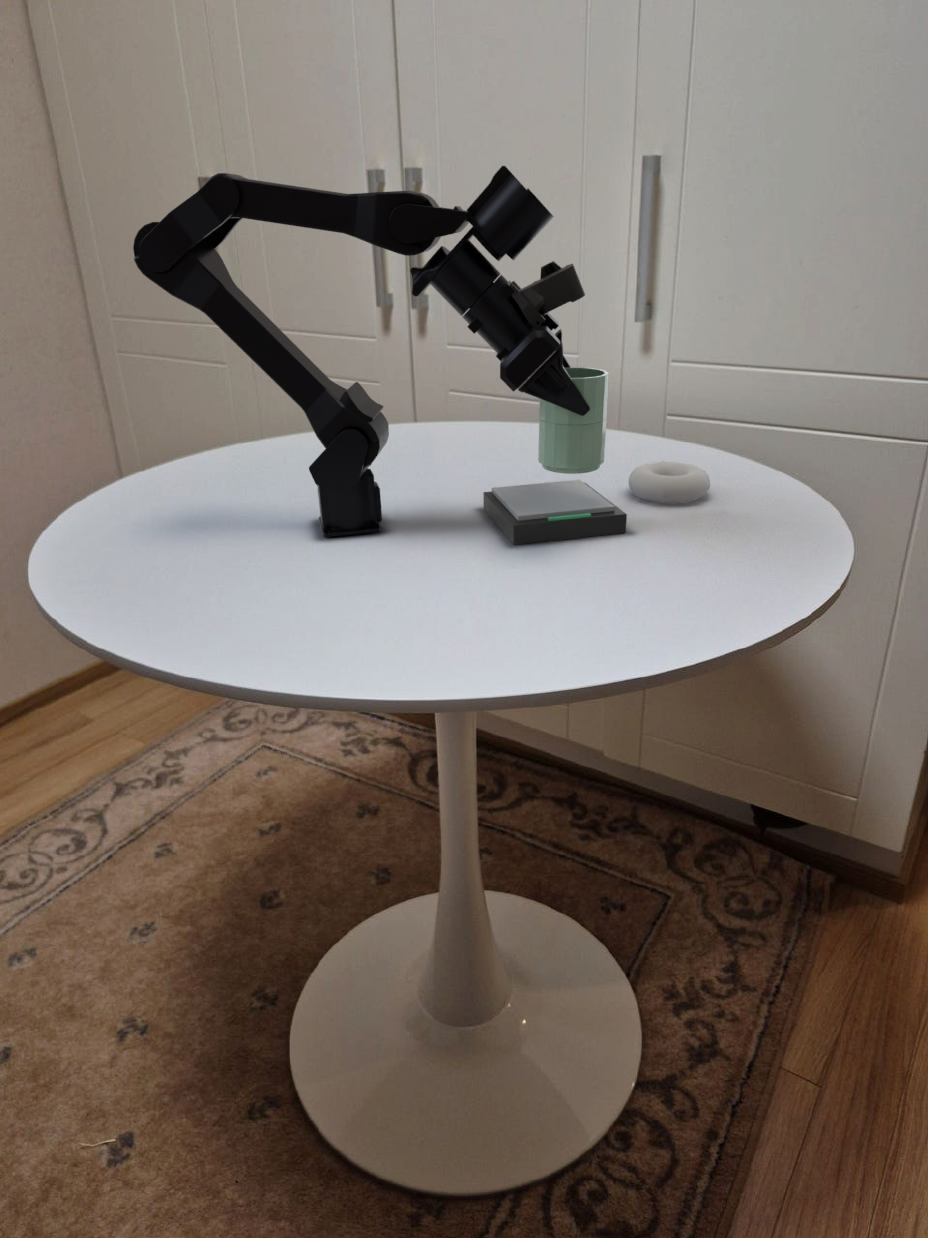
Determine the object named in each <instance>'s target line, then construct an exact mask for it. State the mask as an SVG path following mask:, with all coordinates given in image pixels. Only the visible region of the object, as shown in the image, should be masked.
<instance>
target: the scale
mask: <svg viewBox="0 0 928 1238" xmlns="http://www.w3.org/2000/svg"><path fill="white" fill-rule="evenodd" d="M482 499H483V511H484V512H485V513H486V514H487V515H488V517H489V518H490V519H491V520H492V521H493V522H494V524H495V525H496V526H497V528H499V530H500V531H501V532H502V533H503V534H504V535H505V536H506V537H507V539H508V540H509V541H510V543H511V544H512V545H513V546H517V545H526V544H534V543H535V544H537V543H545V542H555V541H562V540H564V541H565V540H573V539H582V538H589V537H600V536H607V535H608V536H609V535H617V534H626V533H627V518H628V514H627V513H626V512H625V511H623V510H622V509H621V508H620V507H619V506H618V505H615V503H613V502H612V501H610V500H609V499H608V498H606V497H605V496H604V495H603V494H601V493H600V492H599V491H597V490H596V489H595V488H593V487H591V486H590V485H589V484H588V483H587V482H583V480H581V479H571V480H561V481H551V482H550V481H549V482H539V483H531V484H530V483H529V484H518V485H517V484H516V485H508V486H498V487H497V486H496V487H491V490H490V491H483V498H482Z"/></svg>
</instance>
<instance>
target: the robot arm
mask: <svg viewBox="0 0 928 1238" xmlns="http://www.w3.org/2000/svg"><path fill="white" fill-rule="evenodd" d="M554 217H555V216H554V215H553V214H552V213H551V212H550V211H549V209H548V208H547V207H546V206H545V205H544V204H543V203H542V202H541V200H539V198H538V197H537V196H536V195H535V193H533V192H532V191H531V189H530V188H529V187H525V186H524V185H523V184H522V182H521V181H520V180H519V179H518V178H517V177H516V176H515V175H514V174H513V173H512V172H511V170H510V169H509V168H508V167H507V166H506V165H501V167H500V168H498V170H496V172H495V173H494V175H493V177H491V180H490V182H489V183H488V185H487V186H486V187H485V188H484V189H483V190H482V192H481V193H479V195H478V196H477V198H475V199H474V200H473V202H472V203H471V204H470V205H469V207H467V208H466V210H464V209H463V208H462V207H461V206H458V205H455V206H454V207H453V208H448V207H441V206H439V204H438V203H437V201H436V199H434V198H433V197H432V196H431V195H429V194H427V193H424V192H420V191H413V190H395V191H394V190H393V191H374V192H373V191H372V192H361V193H360V192H359V193H344V192H338V191H331V190H324V189H318V188H311V187H303V186H296V185H292V184H291V185H290V184H283V183H276V182H272V181H271V182H270V181H263V180H257V179H250V178H246V177H244V176H242V175H240V174H235V173H227V172H220V173H216V174H214V175H212V176H211V177H210V178H209V179H208V180H207V182H205V184H203V185H202V186H201V188H200V189H198V190H197V192H195V193H193V194H192V195H191V196H190V197H188V198H186V199H185V200H184V201H183V202H181V203H180V204H179V205H177V206H176V207H175V208H173V209H172V210H170V211H169V212H168V213H167V214H166V215H165V216H164V217H163V218H162V219H160V221H152V222H148V223H146V224H144V225H143V226H142V227H141V228H140V229H138V231H137V233H136V235H135V236H134V240H133V247H132V249H133V256H134V258H133V261H134V263H135V265H136V268H138V270H139V272H141V274H142V275H143V276H144V277H145V278H147V279H149V280H150V281H151V282H152V283H154V284H155V285H157V286H158V287H159V288H160V289H162V290H164V291H165V292H167V293H168V294H169V295H171V296H172V297H173V298H176V299H178V300H179V301H182V302H183V303H185V304H187V305H189V306H191V307H193V308H195V309H197V310H199V311H201V312H202V313H203V314H204V315H206V316H207V317H208V319H210V320H211V322H213V323H214V324H215V326H217V327H218V328H219V329H220V330H221V331H222V332H223V333H224V334H225V335H226V336H227V337H228V338H229V339H230V340H231V341H232V342H233V343H234V344H235V345H236V346H237V347H238V348H239V349H240V350H241V351H242V352H243V353H244V354H245V355H247V356H248V358H250V359H251V361H253V362H254V364H256V365H257V366H258V368H260V369H261V370H262V372H264V373H265V374H266V376H268V377H269V378H270V379H271V380H272V381H273V382H274V383H275V384H276V385H277V386H278V387H279V388H280V389H281V390H282V391H283V392H284V393H285V394H286V395H287V396H288V397H289V398H290V399H291V400H292V401H294V403H295V404H296V405H297V406H299V408H301V410H302V411H303V413H304V414H305V417H306V418H307V421H308V422H309V424H310V426H311V428H312V430H313V432H314V435H315V436H316V438H317V440H319V442H320V443H321V444H322V446H323V447H324V450H323V451H322V452H321V453H320V454H319V455H318V456H317V457H316V458H315V460H314V461H313V462H312V463H311V464H310V465H309V467H308V471H309V473H310V475H311V477H312V479H313V482H314V484H315V485H316V486H317V487H316V488H317V497H318V506H319V517H318V522H319V525H320V530H321V533H322V536H323V537H324V538H329V537H330V538H332V537H342V536H350V535H351V536H352V535H361V534H369V533H378V532H380V531H381V525H380V523H381V522H383V513H382V512H383V510H382V499H381V488H380V486H379V484H378V482H377V481H375V475H374V473H373V471H372V470H371V468H370V467H371V466H372V464H373V463H374V462H375V460H376V458H378V456H379V454H380V453H381V451H382V450H383V449H384V447H385V446H386V444H387V443H388V440H389V436H390V428H389V422H388V419H387V417H386V416H385V415H384V413H383V412H382V410H383V409H384V405H383V404H380V403H378V402H376V401H375V400H374V399H372V398H371V397H370V395H369V394H368V392H367V391H366V390H365V388H364V387H363V386H362V384H360V382H358V381H355V382H354V383H353V384H351V385H350V386H349V387H348V388H345V387H344V386H341V385H339V384H338V383H336V382H334V381H333V380H331V379H330V378H329V377H328V376H327V375H326V374H325V373H324V372H323V371H322V370H321V369H320V368H319V367H318V366H317V365H316V364H315V363H314V361H312V360H311V359H310V358H309V357H308V356H307V355H306V354H305V353H304V352H303V351H302V350H301V349H300V348H299V347H298V346H297V345H296V344H295V343H294V342H293V340H291V339H290V338H289V336H287V335H286V334H285V333H284V332H283V331H282V330H281V329H280V328H279V326H277V325H276V324H275V322H273V321H272V319H270V318H269V317H268V316H267V315H266V313H264V312H263V310H261V309H260V308H259V307H258V306H257V305H256V304H255V303H254V301H252V300H251V299H250V298H249V297H248V295H246V294H245V293H244V292H243V291H242V289H240V288H239V286H237V284H236V283H235V282H234V280H233V278H232V276H231V274H230V272H229V270H228V268H227V266H226V264H225V261H224V260H223V259H222V256H221V255H220V254H219V252H218V250H217V248H218V247H219V246H221V244H222V243H223V242H225V240H226V239H227V238H228V237H229V235H230V234H231V233H232V231H233V230H234V229H235V227H236V226H237V225H238V224H239V223H240V222H241V221H242V220H243V219H246V220H254V221H259V222H266V223H274V224H279V225H285V226H293V227H299V228H304V229H305V228H306V229H313V230H320V231H325V232H332V233H339V234H340V233H341V234H344V235H348V236H350V237H353V238H356V239H358V240H361V241H363V242H366V243H368V244H370V245H372V246H376V247H379V248H381V249H384V250H387V251H390V252H393V253H394V254H395V253H396V254H399V255H402V256H405V257H408V256H410V257H411V256H412V257H413V256H417V255H420V254H423V253H426V252H429V251H431V250H432V249H433V248H434V247H435V246H436V245H437V244H438V243H439V242H440V239H441V238H442V237H445V236H450V235H455V234H458V233H461V232H463V231H464V229H465V228H466V227H467V226H468V225H469V224H470V225H471V226H472V227H471V228H470V229H469V230H468V231H467V232H466V233H465V235H463V237H462V238H461V239H460V240H458V242H457V243H456V245H455V246H453V247H452V249H451V250H449V249H448V248H446V247H445V246H443V245H441V246H440V247H439V248H438V249H437V250H436V251H435V253H433V254H432V256H431V257H430V258H429V259H428V260H427V261H426V262H425V263H424V265H423V266H413V267H411V268H410V270H409V272H410V275H411V280H412V287H411V288H412V289H411V294H412V296H413V297H415V298H416V297H419V296H421V295H422V294H423V293H424V292H425V291H426V290H427V289H428V288H429V287H430V286H431V287H432V288H433V289H435V291H436V292H437V293H438V294H439V295H440V296H441V297H442V298H443V299H444V300H445V301H446V303H448V304H449V305H450V306H451V307H452V308H453V309H454V311H456V312H457V314H458V315H459V316H461V317H462V319H463V320H464V321H465V322H466V323H467V324H468V325H467V326H466V328H467V329H468V330H469V331H471V332H472V333H473V334H474V335H475V334H476V333H477V334H478V335H479V336H480V337H481V338H482V339H483V341H485V342H486V343H487V344H488V345H489V346H490V348H491V349H492V350H493V351H494V352H495V353H496V355H495V357H496V358H497V360H499V362H500V363H499V379H500V380H501V381H502V382H503V383H504V384H505V385H506V386H507V387H508V388H509V389H510V390H511V391H512V392H513V393H514V392H515V391H518V392H520V393H525V394H526V395H529V396H533V397H534V398H538V399H539V398H540V399H542V400H545V401H547V402H550V403H552V404H555V405H557V406H560V407H562V408H564V409H567V410H569V411H572V412H574V413H576V414H579V415H581V416H584V415H585V414H586V413H587V412H589V410H590V407H589V405H588V403H587V402H586V400H585V399H584V397H583V396H582V394H581V393H580V391H579V389H578V388H577V386H576V385H575V383H574V382H573V380H572V379H571V377H570V376H569V374H568V373H567V371H566V370H565V368H564V367H572V366H571V364H570V363H569V361H568V359H567V358H566V356H565V355H564V343H563V331H562V329H561V328H560V329H558V328H559V326H560V323H559V321H558V320H556V318H555V317H554V316H553V315H552V314H551V313H550V312H552V311H554V310H555V309H558V308H559V307H561V306H564V305H566V304H568V303H570V302H571V303H575V302H576V301H578V300H581V299H582V298H584V297H585V296H586V292H585V290H584V288H583V285H582V283H581V280H580V277H579V275H578V272H577V271H576V268H575V265H574V264H573V263H570V264H566V265H565V266H563V267H561V266H560V265H559V264H558V263H557V262H555V261H554V260H552V261H551V262H550V261H549V262H548V263H547V264H544V265H542V266H541V267H540V279H538V280H535V281H533V282H532V283H530V284H528V285H526V286H524V287H522V288H521V287H520V285H519V284H517V282H516V281H515V280H512V281H511V279H510V280H508V279H507V278H505V276H503V274H502V273H501V272H500V271H499V270H498V269H497V268H496V266H494V265H493V263H492V262H490V261H489V260H488V258H487V257H486V256H485V255H484V254H483V253H482V252H481V251H480V250H479V248H477V246H475V245H474V243H473V242H472V241H470V240H471V239H472V238H473V237H474V238H475V239H476V240H477V241H478V243H479V244H480V245H481V246H482V247H483V248H484V249H485V250H486V251H487V252H488V254H490V255H491V256H492V257H493V258H494V259H495V260H496V261H497V262H500V261H501V260H502V259H503V258H504V257H505V256H506V255H507V257H509V258H510V259H511V260H512V261H515V260H516V259H517V258H518V256H520V255H521V253H522V252H523V251H524V250H525V249H526V248H527V247H528V246H529V245H530V244H531V243H532V241H533V240H534V239H535V238H536V237H537V236H538V235H539V234H540V233H541V231H543V230H544V228H545V227H546V226H547V225H548V224H549V223H550V222H551V221H552V220H553V218H554ZM557 329H558V330H557ZM553 330H557V332H555V333H554V332H553Z"/></svg>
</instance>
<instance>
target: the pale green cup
mask: <svg viewBox="0 0 928 1238" xmlns="http://www.w3.org/2000/svg"><path fill="white" fill-rule="evenodd" d="M564 368H565V370H566V371H567V373H568V374H569V376H570V377H571V379H572V380H573V382H574V383H575V385H576V386H577V388H578V389H579V391H580V393H581V394H582V396H583V397H584V399H585V400H586V402H587V403H588V405H589V407H590V410H589V412H587V413H586V414H585V415H584V416H581V415H579V414H576V413H574V412H572V411H569V410H567V409H564V408H562V407H560V406H557V405H555V404H552V403H550V402H547V401H545V400H542V399H540V398H538V399H539V401H538V403H539V404H538V441H537V442H538V444H537V445H538V446H537V450H538V451H537V460H538V463H539V464H540V465H541V467H542V469H544V470H546V471H548V472H552V473H558V474H564V475H565V474H567V475H569V474H570V475H578V474H579V475H580V474H587V473H591V472H595V471H597V470H598V469H600V467H601V465H602V464H603V463H605V453H606V452H605V451H606V432H607V417H608V399H609V397H608V396H609V382H610V381H609V379H610V373H609V372H608V371H607V370H604V369H600V368H596V367H595V368H593V367H584V366H583V367H579V366H571V367H564Z"/></svg>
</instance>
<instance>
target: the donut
mask: <svg viewBox="0 0 928 1238" xmlns="http://www.w3.org/2000/svg"><path fill="white" fill-rule="evenodd" d="M710 487H711V479H710V476H709V473H708V472H707V471H706V470H704V469H703V468H702V467H700V466H698V465H695V464H691V463H687V462H682V461H681V462H680V461H653V462H648V463H644V464H641V465H639V466H637V467H636V468H634V469H633V470H632V471H631V472H630V474H629V476H628V488H629V490H630V491H631V492H632V493H633V494H634V495H635V496H636V497H638V498H640V499H642V500H644V501H648V502H652V503H658V504H670V505H675V504H685V503H686V504H687V503H691V502H695V501H697V500H700V499H702V498H703V497H704V496H705V495H706V494H707V493H708V492H709V490H710Z"/></svg>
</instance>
